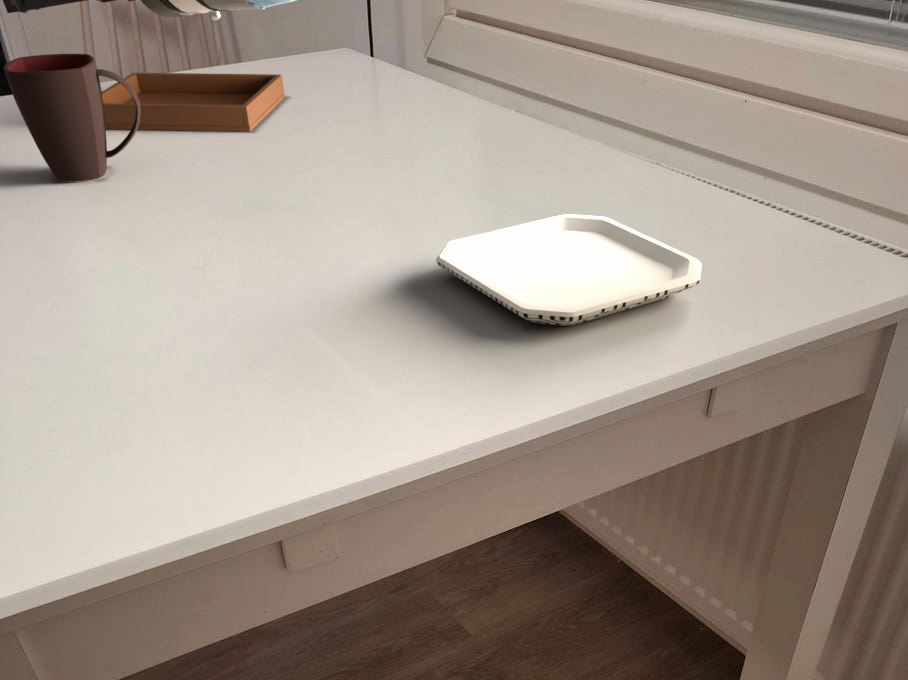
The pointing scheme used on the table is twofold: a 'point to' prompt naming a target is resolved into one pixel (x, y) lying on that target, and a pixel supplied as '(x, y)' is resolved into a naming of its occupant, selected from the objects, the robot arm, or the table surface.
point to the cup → (66, 112)
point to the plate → (570, 268)
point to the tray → (193, 101)
